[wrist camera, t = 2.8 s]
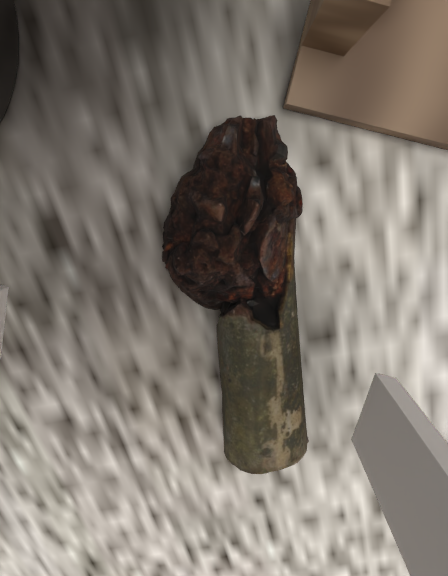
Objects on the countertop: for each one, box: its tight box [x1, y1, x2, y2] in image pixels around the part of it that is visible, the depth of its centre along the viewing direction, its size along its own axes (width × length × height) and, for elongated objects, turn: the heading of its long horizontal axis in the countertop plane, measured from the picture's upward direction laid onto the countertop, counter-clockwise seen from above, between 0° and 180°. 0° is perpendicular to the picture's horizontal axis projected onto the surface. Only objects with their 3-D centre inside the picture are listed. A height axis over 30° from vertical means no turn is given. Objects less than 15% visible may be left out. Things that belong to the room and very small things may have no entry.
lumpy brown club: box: [162, 115, 309, 474], centre depth 21 cm, size 18×7×6 cm, turn 5°
